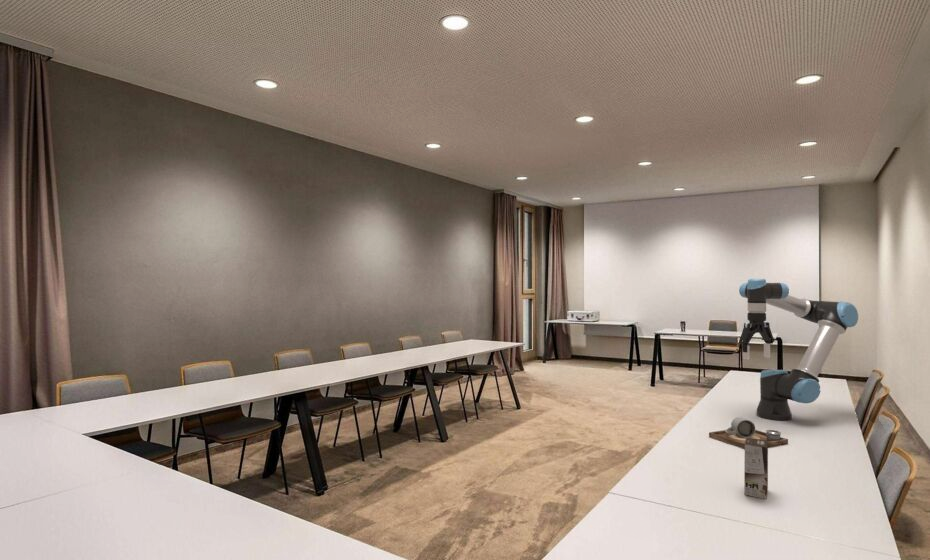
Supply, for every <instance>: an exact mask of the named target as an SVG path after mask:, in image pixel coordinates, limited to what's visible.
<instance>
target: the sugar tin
mask: <svg viewBox="0 0 930 560" xmlns="http://www.w3.org/2000/svg"><path fill="white" fill-rule="evenodd" d="M765 433H766V440H767V441H769V442H771V441H776V440H780V437H781V431H779V430H774V429H773V430H772V429H769V430H768V429H767V430H766V431H765Z"/></svg>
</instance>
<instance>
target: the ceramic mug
mask: <svg viewBox="0 0 930 560" xmlns="http://www.w3.org/2000/svg"><path fill="white" fill-rule="evenodd" d="M724 430H725V432H726V434H727V435H735V434H738V435H739V436H741V437H743V438H750V437H752V436H753V435H754V434H755V430H757V429H756V426H755V423H754V422H753V421H751V420H750V419H747V418H745V417H742V416H738V417H734V419H732V421H731V426H730V427H728V428H727V429H724ZM732 430H734V431H732ZM730 431H731V432H730Z"/></svg>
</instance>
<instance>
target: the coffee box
mask: <svg viewBox="0 0 930 560" xmlns="http://www.w3.org/2000/svg"><path fill="white" fill-rule="evenodd" d="M743 476H744V479H743V481H744V493H743V494H744V495H745V496H748V495H749V497H755V498H759V499H763V498H764V500H767V498H768V491H769V490H768V489H769V448H768V441H767V440H761V439H751V438H746V441H745V449H744V475H743Z"/></svg>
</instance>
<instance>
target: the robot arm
mask: <svg viewBox="0 0 930 560" xmlns="http://www.w3.org/2000/svg"><path fill="white" fill-rule="evenodd" d="M789 288H790V287H789V286H788V285H787V284H786V283H784V282H767V279H766V278H750V279H748V280H747V282H743V283H741V284H740V286H739V288H738V289H739V290H738V291H739V295H740V296H741V297H742V298H745V299H747V313H746V314H747V321H748V322H744V323H743V328H742V331H741V334H740V337H739V339H738V340H739V341H738V344H740V345H741V346H742V359H743V360H747V361H750V345H749V343H750V342H751V340H752V338H753V336H754V335H755V334H758V333H759V335H760V336H761V337H762V339H763V341H764V343H763V357H764V358H768V359H771V350H772V349H771V348H772V345H771V344H774V342H775V338H774V336H773V332H772V330H771V326H770V322H767V313H766V312H767V305H770V306H773V307H775V308H778V309H781V310H784V311H787V312H789V313H792V314H793V315H795V316H796V317H797V318H801V319H802V320H806V321H808V322H811V323H814V324H817V325H818V326H819V327H818V329H817V331H816V332H815V334H814V336H813V337H812V340H811V341H810V343H809V345H808V347H807V349H806V351H805V353H804V354H803V356H802V358H801V360H800V362H799V365H798V366H797V367H794V368H792V369H791V371H790V373H789V372H788V371H787V370H786V369H766V370H761V372H760V378H759V382H760V383H759V384H760V385H759V387H760V401H758V406H757V408H756V412H755V413H756V414H755V415H756V416H758V417H760V418H763V419H766V420H774V421H789V420H792V419H793V415H792V414H793V413H792V411H791V408H790V405H789V402H788V400H789V401H792V402H793V401H794V402H796V403H799V404H800V403H801V404H810V403H813V402H815V401H816V400H817V399H818V398H819V396H820V394H821V384H820V379H819V374H820V372H821V370H822V369H823V366H824V364H825V363H826V361H827V360H828V357H829V355H830V353H831V351H832V350H833V349H834V345H835V344H836V342H837V340H838V338H839V336H840V335H843V334H845V333H846V331H847V329H848V328H853V327H855V326H856V325H857V324H858V321H859V312H858V310H857V307H856V306H855V305H854V304H853V303H851V302H845V301H827V300H810V299H806V298H797V297H796V296H792V295H790V289H789Z"/></svg>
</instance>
